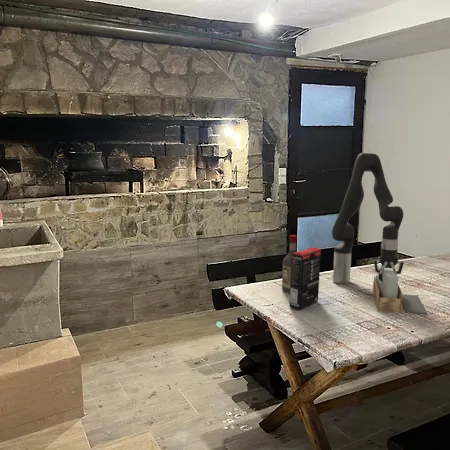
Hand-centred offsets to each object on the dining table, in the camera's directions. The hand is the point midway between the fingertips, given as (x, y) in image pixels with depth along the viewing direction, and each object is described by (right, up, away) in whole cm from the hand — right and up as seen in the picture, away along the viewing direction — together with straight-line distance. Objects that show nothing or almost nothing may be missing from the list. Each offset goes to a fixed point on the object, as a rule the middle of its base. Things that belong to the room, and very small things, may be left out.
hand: (387, 281), depth 221 cm
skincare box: (0, -11, +2) cm, 11 cm away
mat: (+12, -11, -1) cm, 16 cm away
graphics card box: (-41, -12, -1) cm, 42 cm away
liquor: (-44, -8, +20) cm, 49 cm away
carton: (0, -11, +2) cm, 11 cm away
